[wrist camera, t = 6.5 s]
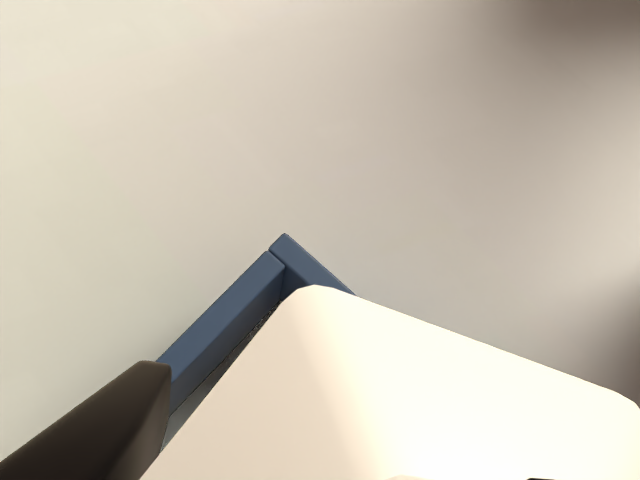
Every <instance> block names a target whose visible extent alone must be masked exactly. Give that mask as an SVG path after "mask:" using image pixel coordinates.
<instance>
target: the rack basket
mask: <svg viewBox="0 0 640 480" xmlns="http://www.w3.org/2000/svg"><path fill="white" fill-rule="evenodd" d="M311 285H320V286H325V287H330V288H335V289H338V290H340V291H343V292H346V293H348V294H351V295H354V296H356V295H355V294H354V293H353V292H352V291H351V290H350V289H348V288H347V287H346V286H345V285H344V284H343V283H342V282H341V281H339V280H338V279H337V278H336V277H335V276H334V275H333V274H332V273H330V272H329V271H328V270H327V269H326V268H325V267H324V266H323V265H321V264H320V263H319V262H318V261H317V260H316V259H315V258H314V257H312V256H311V255H310V254H309V253H308V252H307V251H306V250H305V249H303V248H302V247H301V246H300V245H299V244H298V243H297V242H295V241H294V240H293V239H292V238H291V237H290V236H289V235H288V234H286V233H284V234H282V235H281V236H280V237H279V238H278V239H277V240H276V241H275V242H274V243H273V244H272V245H271V246H270V247H269V249H268V251H265V252H264V253H263V254H262V255H261V256H260V257H259V258H258V259H257V260H256V261H255V262H254V263H253V264H252V265H251V266H250V267H249V268H248V269H247V270H246V271H245V272H244V273H243V274H242V275H241V276H240V277H239V278H238V279H237V280H236V281H235V282H234V283H233V284H232V285H231V286H230V287H229V288H228V289H227V290H226V291H225V292H224V293H223V294H222V295H221V296H220V297H219V298H218V299H217V300H216V301H215V302H214V303H213V304H212V305H211V306H210V307H209V308H208V309H207V310H206V311H205V312H204V313H203V314H202V315H201V316H200V317H199V318H198V319H197V320H196V321H195V322H194V323H193V324H192V325H191V326H190V327H189V328H188V329H187V330H186V331H185V332H184V333H183V334H182V335H181V336H180V337H179V338H178V339H177V340H176V341H175V342H174V343H173V344H172V345H171V346H170V347H169V348H168V349H167V350H166V351H165V352H164V353H163V354H162V355H161V356H160V357H159V358H158V359H157V360H156V361H155V362H159V363H166V364H169V365H170V367H171V369H172V378H171V391H170V404H169V415H168V417H169V416H170V415H171V414H172V413H173V412H174V411H175V410H176V409H177V408H178V407H179V406H180V405H181V404H182V403H183V402H184V401H185V400H186V399H187V397H188V396H189V395H190V394H191V393H192V392H193V391H194V390H195V389H196V388H197V387H198V386H199V385H200V384H201V383H202V382H203V381H204V380H205V379H206V378H207V377H208V375H209V374H210V373H211V372H212V371H213V370H214V369H215V368H216V367H217V366H218V365H219V364H220V363H221V362H222V361H223V360H224V359H225V358H226V357H227V356H228V354H229V353H230V352H231V351H232V350H233V349H234V348H235V347H236V346H237V345H238V344H239V343H240V342H241V341H242V340H243V339H244V338H245V337H246V336H247V335H248V334H249V332H250V331H251V330H252V329H253V328H254V327H255V326H256V325H257V324H258V323H259V322H260V321H261V320H262V319H263V318H264V317H265V316H266V315H267V314H268V313H269V311H270V310H271V309H272V308H273V307H274V306H275V305H276V304H277V303H278V302H279V299H280V300H281V301H282V302H283V301H284V300H285V299H286V298H287V297H289V296H290V295H291V294H292V293H293V292H294V291H296V290H297V289H299V288H303V287H307V286H311ZM357 297H358V296H357Z"/></svg>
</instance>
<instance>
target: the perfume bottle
mask: <svg viewBox="0 0 640 480" xmlns="http://www.w3.org/2000/svg"><path fill="white" fill-rule="evenodd" d="M139 480H640V408H639V407H638V406H637V405H636V403H635V402H633V401H631V400H630V399H628V398H626V397H624V396H623V395H621V394H619V393H617V392H615V391H612V390H609V389H606V388H604V387H601V386H598V385H596V384H593V383H590V382H587V381H585V380H582V379H579V378H577V377H574V376H571V375H568V374H566V373H563V372H560V371H558V370H555V369H552V368H549V367H547V366H544V365H541V364H539V363H536V362H533V361H530V360H528V359H525V358H522V357H520V356H517V355H514V354H511V353H509V352H506V351H503V350H501V349H498V348H495V347H492V346H490V345H487V344H484V343H481V342H479V341H476V340H473V339H471V338H468V337H465V336H462V335H460V334H457V333H454V332H452V331H449V330H446V329H443V328H441V327H438V326H435V325H433V324H430V323H427V322H424V321H422V320H419V319H416V318H414V317H411V316H408V315H405V314H403V313H400V312H397V311H395V310H392V309H389V308H386V307H384V306H381V305H378V304H376V303H373V302H370V301H367V300H365V299H362V298H359V297H357V296H354V295H351V294H348V293H346V292H343V291H340V290H338V289H335V288H330V287H325V286H320V285H311V286H307V287H303V288H299V289H297V290H296V291H294V292H293V293H292V294H291V295H290V296H289V297H287V298H286V299H285V300H284V301H283V302H282V303H281V304H280V305H279V307H278V308H277V309H276V310H275V312H274V313H273V314H272V315H271V317H270V318H269V319H268V320H267V322H266V323H265V324H264V325H263V327H262V328H261V329H260V330H259V332H258V333H257V334H256V335H255V336H254V338H253V339H252V340H251V341H250V343H249V344H248V345H247V346H246V348H245V349H244V350H243V351H242V353H241V354H240V355H239V356H238V358H237V359H236V360H235V361H234V363H233V364H232V365H231V366H230V368H229V369H228V370H227V371H226V373H225V374H224V375H223V376H222V377H221V379H220V380H219V381H218V382H217V384H216V385H215V386H214V387H213V389H212V390H211V391H210V392H209V394H208V395H207V396H206V397H205V399H204V400H203V401H202V402H201V404H200V405H199V406H198V407H197V409H196V410H195V411H194V412H193V413H192V415H191V416H190V417H189V418H188V420H187V421H186V422H185V423H184V425H183V426H182V427H181V428H180V430H179V431H178V432H177V433H176V435H175V436H174V437H173V438H172V440H171V441H170V442H169V443H168V445H167V446H166V447H165V448H164V450H163V451H162V452H161V453H160V454H159V456H158V457H157V458H156V459H155V461H154V462H153V463H152V464H151V466H150V467H149V468H148V469H147V471H146V472H145V473H144V474H143V476H142V477H141V478H140V479H139Z"/></svg>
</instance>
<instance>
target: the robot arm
mask: <svg viewBox="0 0 640 480" xmlns="http://www.w3.org/2000/svg"><path fill="white" fill-rule="evenodd" d="M171 378H172V369H171V367H170V365H169V364H166V363H159V362H152V361H146V360H145V361H139V362H137V363H136V364H134V365H133V366H132V367H130V368H129V369H128V370H126V371H125V372H123V373H122V374H121V375H119V376H118V377H117V378H115V379H114V380H112V381H111V382H110V383H108V384H107V385H106V386H104V387H103V388H101V389H100V390H99V391H97V392H96V393H95V394H93V395H92V396H90V397H89V398H88V399H86V400H85V401H84V402H82V403H81V404H79V405H78V406H77V407H75V408H74V409H73V410H71V411H70V412H68V413H67V414H66V415H64V416H63V417H62V418H60V419H59V420H57V421H56V422H55V423H53V424H52V425H51V426H49V427H48V428H46V429H45V430H44V431H42V432H41V433H40V434H38V435H37V436H35V437H34V438H33V439H31V440H30V441H29V442H27V443H26V444H24V445H23V446H22V447H20V448H19V449H18V450H16V451H15V452H13V453H12V454H11V455H9V456H8V457H7V458H5V459H4V460H2V461H1V462H0V480H139V479H140V478H141V477H142V476H143V474H144V473H145V472H146V471H147V469H148V468H149V467H150V466H151V464H152V463H153V462H154V461H155V459H156V458H157V457H158V456H159V452H160V448H161V445H162V441H163V437H164V434H165V430H166V426H167V421H168V415H169V404H170V391H171Z"/></svg>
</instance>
